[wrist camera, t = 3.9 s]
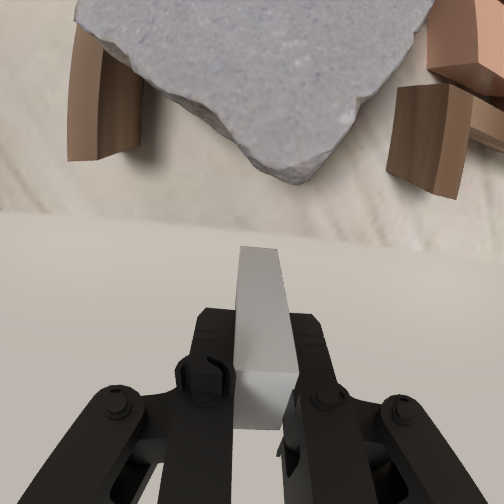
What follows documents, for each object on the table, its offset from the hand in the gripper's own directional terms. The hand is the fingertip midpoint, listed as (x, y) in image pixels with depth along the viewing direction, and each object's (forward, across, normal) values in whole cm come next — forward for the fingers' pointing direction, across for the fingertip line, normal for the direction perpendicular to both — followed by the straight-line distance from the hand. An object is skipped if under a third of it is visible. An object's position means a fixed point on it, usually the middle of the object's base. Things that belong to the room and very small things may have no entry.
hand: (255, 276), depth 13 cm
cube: (+2, +9, +13) cm, 16 cm away
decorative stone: (+2, 0, +12) cm, 12 cm away
